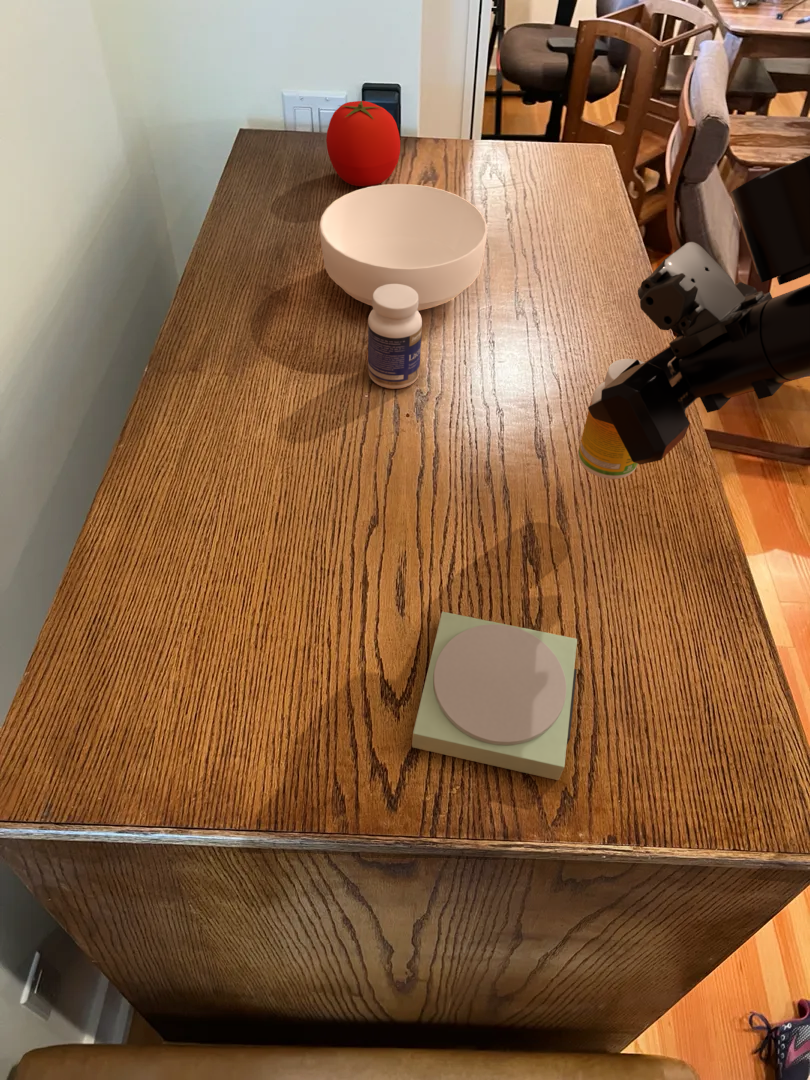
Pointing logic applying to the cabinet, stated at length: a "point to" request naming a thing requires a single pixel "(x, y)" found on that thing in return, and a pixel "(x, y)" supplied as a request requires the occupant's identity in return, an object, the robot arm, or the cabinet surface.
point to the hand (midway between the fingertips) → (610, 395)
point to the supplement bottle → (605, 437)
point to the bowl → (403, 242)
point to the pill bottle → (394, 336)
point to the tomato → (363, 143)
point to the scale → (498, 696)
